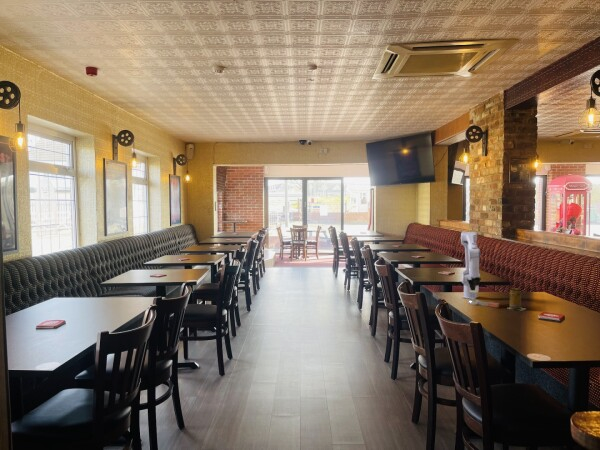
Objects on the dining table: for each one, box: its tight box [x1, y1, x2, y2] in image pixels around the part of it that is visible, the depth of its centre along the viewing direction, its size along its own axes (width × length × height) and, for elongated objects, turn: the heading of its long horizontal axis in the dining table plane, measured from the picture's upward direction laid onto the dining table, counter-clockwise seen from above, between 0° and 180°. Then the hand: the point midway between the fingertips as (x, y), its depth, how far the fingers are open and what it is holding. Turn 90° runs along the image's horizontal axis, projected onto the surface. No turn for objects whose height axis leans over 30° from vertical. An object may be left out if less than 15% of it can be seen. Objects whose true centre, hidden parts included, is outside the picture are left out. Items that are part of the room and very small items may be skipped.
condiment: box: [508, 287, 526, 311], centre depth 258 cm, size 7×8×12 cm
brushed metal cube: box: [470, 284, 480, 294], centre depth 271 cm, size 4×4×4 cm
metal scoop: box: [467, 297, 500, 308], centre depth 268 cm, size 18×7×4 cm, turn 48°
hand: (474, 289), depth 271 cm, fingers closed on brushed metal cube, 4 cm apart
